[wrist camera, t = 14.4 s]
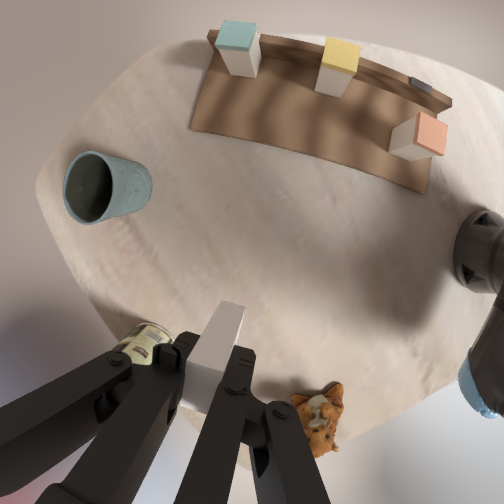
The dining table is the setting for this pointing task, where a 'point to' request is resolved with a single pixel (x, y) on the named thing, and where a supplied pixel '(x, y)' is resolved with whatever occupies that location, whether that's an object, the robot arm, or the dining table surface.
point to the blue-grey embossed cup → (104, 187)
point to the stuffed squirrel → (320, 418)
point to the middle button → (337, 67)
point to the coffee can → (143, 342)
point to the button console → (318, 109)
